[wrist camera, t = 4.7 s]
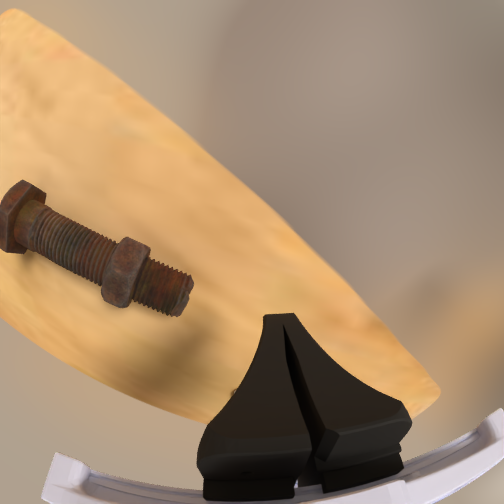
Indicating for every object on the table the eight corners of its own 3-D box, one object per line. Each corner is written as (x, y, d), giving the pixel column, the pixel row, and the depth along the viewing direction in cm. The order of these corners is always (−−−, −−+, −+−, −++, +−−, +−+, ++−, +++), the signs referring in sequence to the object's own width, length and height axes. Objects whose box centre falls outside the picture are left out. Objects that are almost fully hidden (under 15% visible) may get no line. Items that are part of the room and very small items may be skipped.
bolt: (190, 278, 22) (39, 207, 18) (209, 246, 18) (31, 164, 14) (168, 345, 18) (3, 260, 14) (183, 327, 14) (-18, 223, 11)
